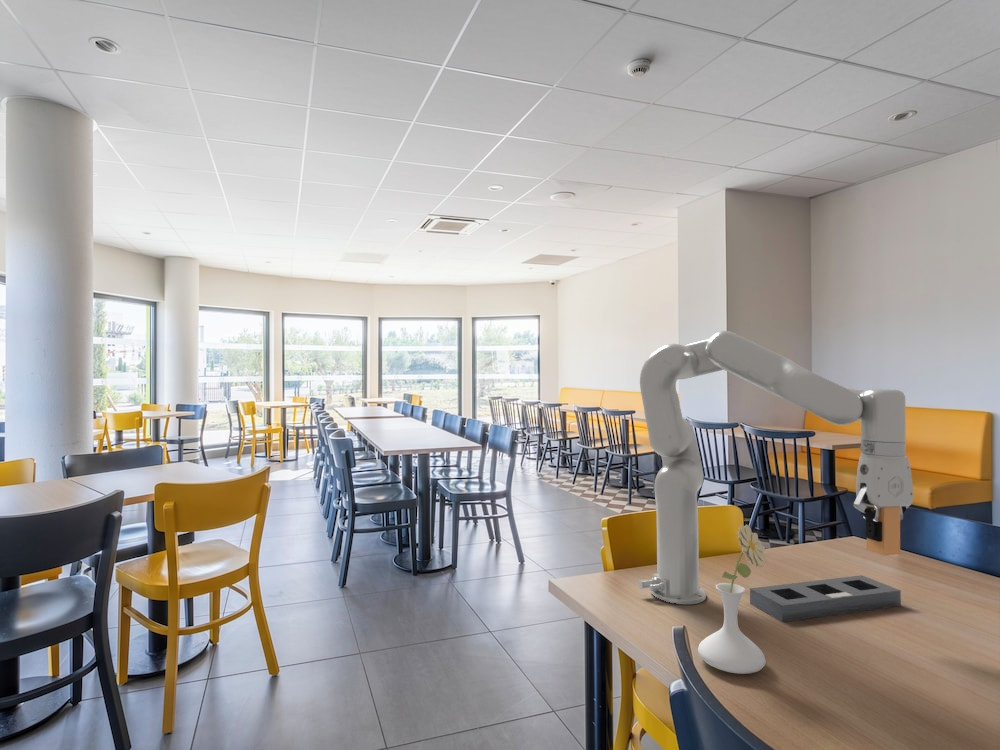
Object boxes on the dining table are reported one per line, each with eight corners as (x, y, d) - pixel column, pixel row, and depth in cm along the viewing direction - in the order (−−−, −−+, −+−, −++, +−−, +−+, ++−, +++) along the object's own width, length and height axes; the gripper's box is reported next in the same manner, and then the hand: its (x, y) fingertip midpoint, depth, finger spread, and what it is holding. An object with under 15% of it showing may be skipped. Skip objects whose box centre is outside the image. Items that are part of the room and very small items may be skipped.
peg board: (782, 622, 118) (782, 604, 118) (750, 603, 128) (749, 587, 128) (900, 605, 126) (900, 589, 126) (861, 589, 136) (861, 574, 136)
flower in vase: (732, 687, 93) (730, 538, 94) (684, 656, 104) (683, 522, 104) (787, 670, 99) (786, 529, 99) (736, 642, 109) (735, 515, 109)
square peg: (884, 555, 112) (884, 505, 112) (866, 549, 115) (866, 501, 115) (900, 553, 112) (900, 504, 113) (882, 548, 116) (882, 500, 116)
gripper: (866, 453, 108) (866, 547, 108) (932, 450, 113) (932, 541, 112) (834, 448, 116) (834, 536, 116) (897, 446, 120) (897, 531, 120)
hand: (883, 537), depth 114 cm, fingers closed on square peg, 4 cm apart
